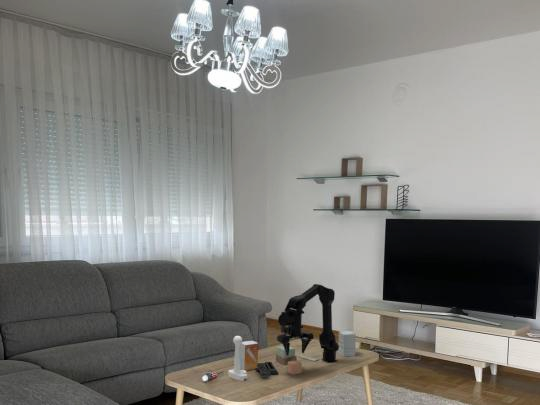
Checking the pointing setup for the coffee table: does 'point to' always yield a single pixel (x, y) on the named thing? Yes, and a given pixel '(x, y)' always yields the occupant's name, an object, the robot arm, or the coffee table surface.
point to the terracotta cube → (294, 367)
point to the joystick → (237, 362)
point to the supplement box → (346, 343)
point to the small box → (248, 355)
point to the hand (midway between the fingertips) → (295, 354)
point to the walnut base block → (285, 359)
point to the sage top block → (282, 352)
